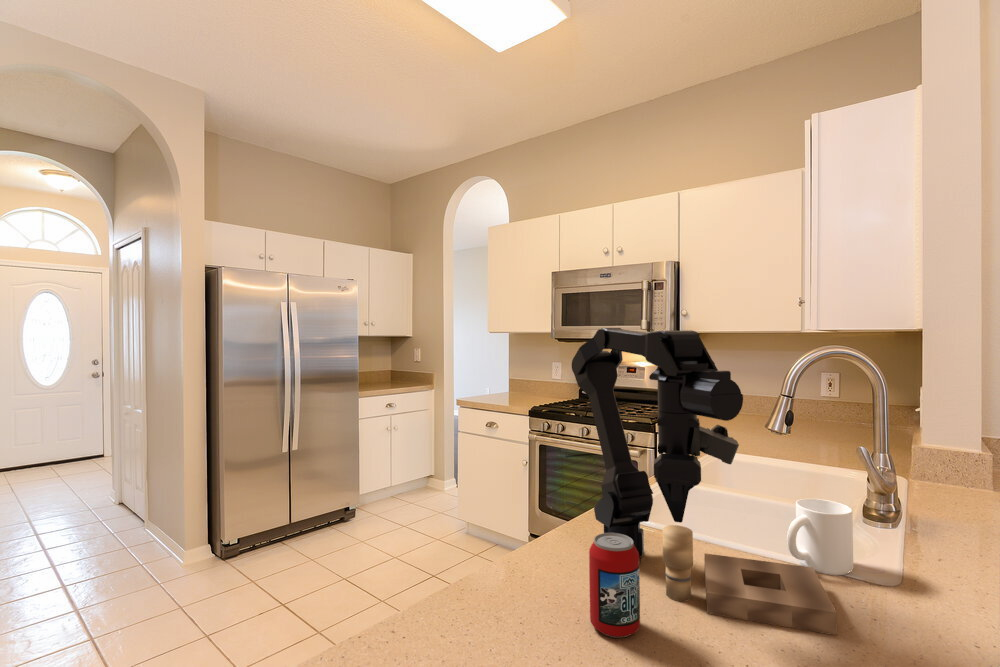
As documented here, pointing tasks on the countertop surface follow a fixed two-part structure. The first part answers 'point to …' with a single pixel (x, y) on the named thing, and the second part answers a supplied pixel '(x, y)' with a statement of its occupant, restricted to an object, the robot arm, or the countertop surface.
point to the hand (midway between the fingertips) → (678, 511)
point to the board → (768, 593)
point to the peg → (678, 561)
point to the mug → (822, 536)
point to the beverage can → (614, 585)
